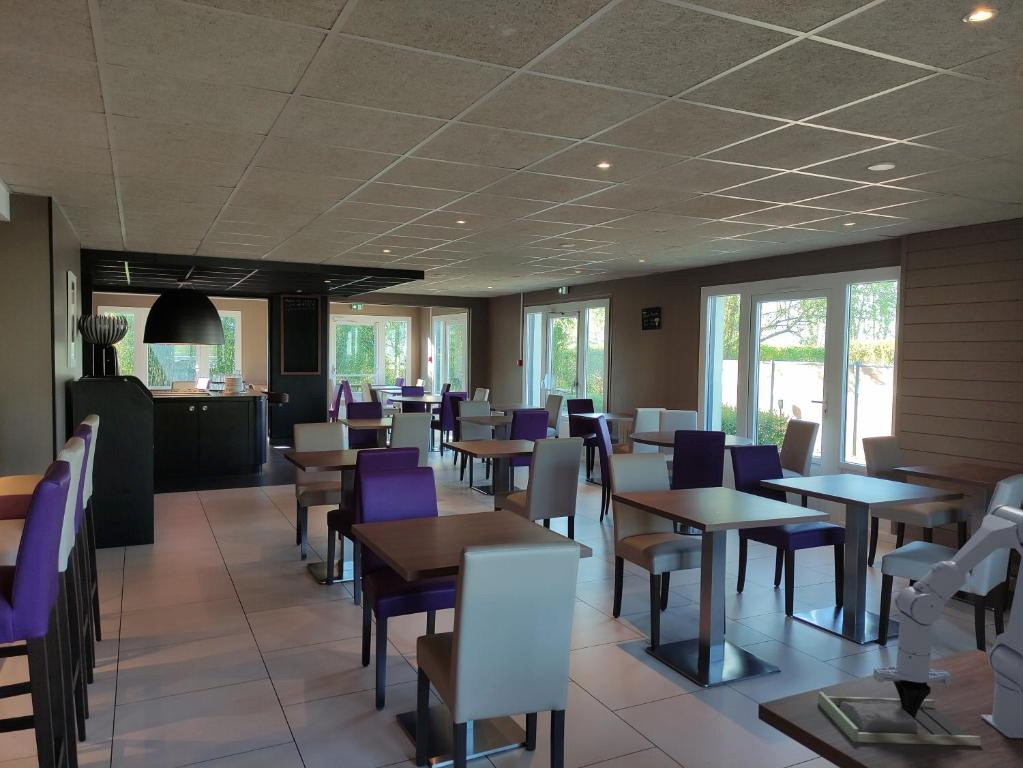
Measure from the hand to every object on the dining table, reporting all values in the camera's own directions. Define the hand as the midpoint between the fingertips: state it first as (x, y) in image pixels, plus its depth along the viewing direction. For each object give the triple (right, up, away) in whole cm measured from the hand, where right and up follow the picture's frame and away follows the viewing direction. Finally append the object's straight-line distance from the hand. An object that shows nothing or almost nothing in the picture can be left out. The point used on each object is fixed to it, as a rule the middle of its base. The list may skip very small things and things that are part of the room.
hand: (908, 716), depth 142 cm
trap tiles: (+6, -2, 0) cm, 6 cm away
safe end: (-15, -1, 0) cm, 15 cm away
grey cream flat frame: (-2, -1, 0) cm, 3 cm away
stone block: (-7, -2, 0) cm, 7 cm away
